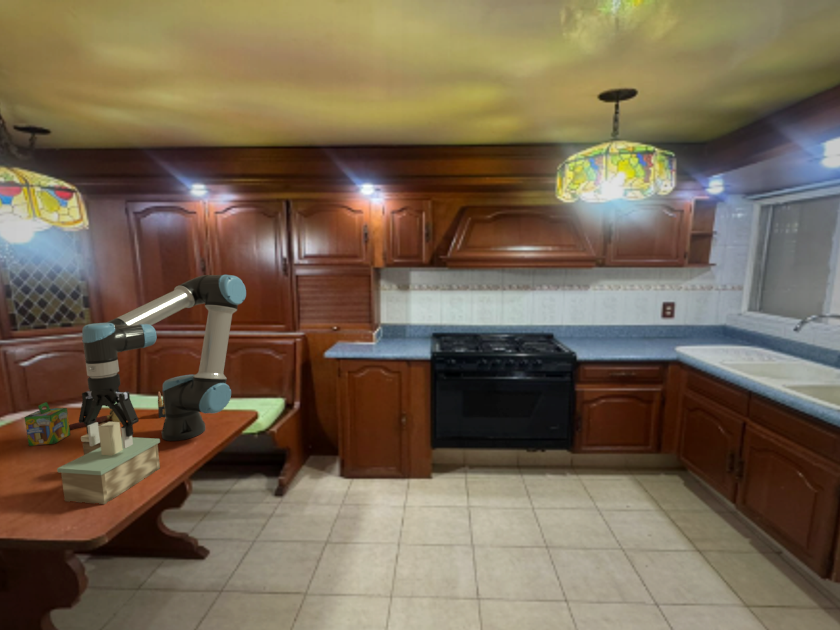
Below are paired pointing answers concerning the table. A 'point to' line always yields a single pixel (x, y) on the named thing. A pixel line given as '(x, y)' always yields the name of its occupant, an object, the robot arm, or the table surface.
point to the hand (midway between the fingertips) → (111, 445)
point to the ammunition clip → (160, 406)
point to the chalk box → (47, 425)
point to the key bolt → (86, 437)
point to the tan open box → (109, 477)
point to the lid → (108, 452)
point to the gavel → (99, 420)
